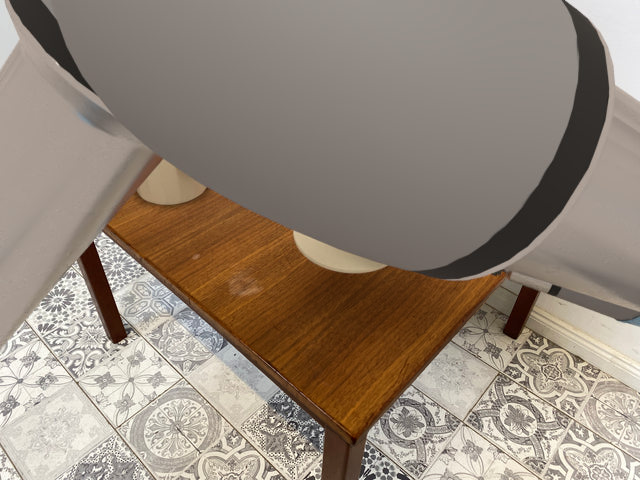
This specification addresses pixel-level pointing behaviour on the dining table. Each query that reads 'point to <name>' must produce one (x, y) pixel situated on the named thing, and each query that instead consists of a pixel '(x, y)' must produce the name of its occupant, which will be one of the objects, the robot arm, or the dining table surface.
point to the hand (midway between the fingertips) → (311, 176)
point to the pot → (169, 186)
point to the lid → (333, 256)
